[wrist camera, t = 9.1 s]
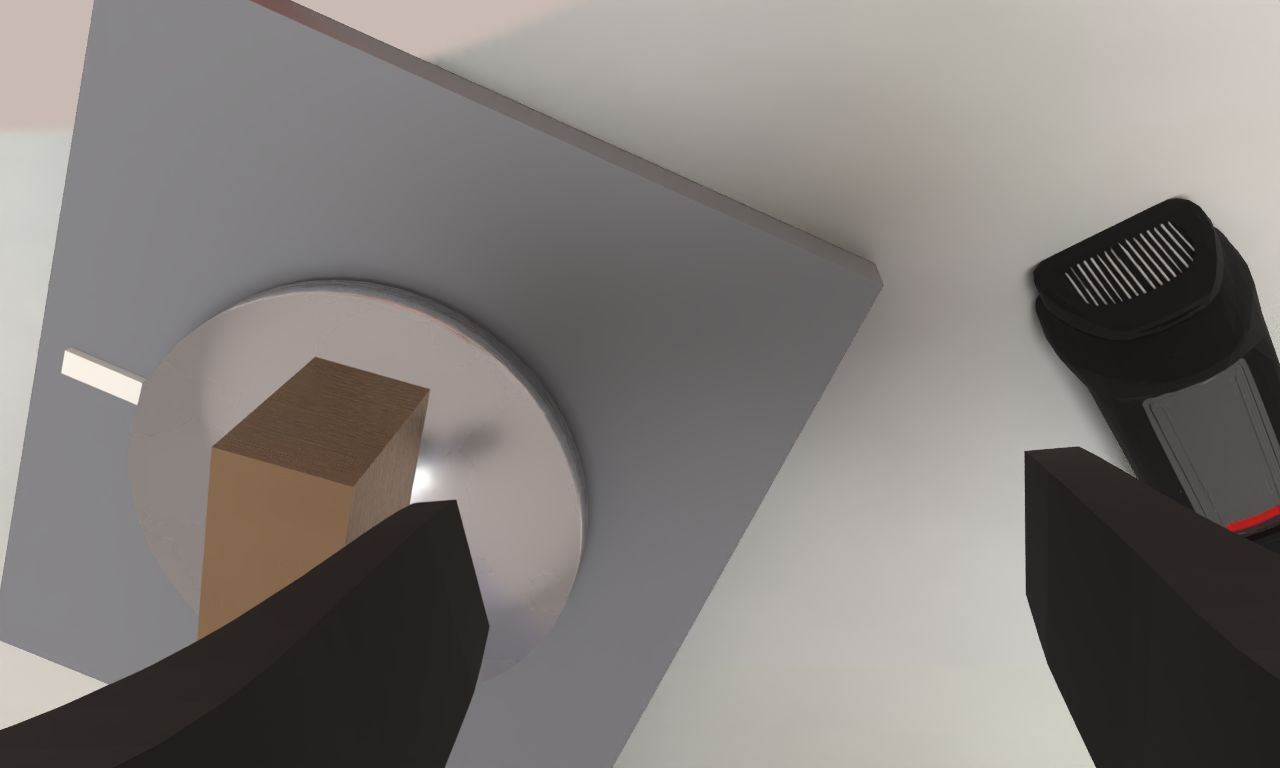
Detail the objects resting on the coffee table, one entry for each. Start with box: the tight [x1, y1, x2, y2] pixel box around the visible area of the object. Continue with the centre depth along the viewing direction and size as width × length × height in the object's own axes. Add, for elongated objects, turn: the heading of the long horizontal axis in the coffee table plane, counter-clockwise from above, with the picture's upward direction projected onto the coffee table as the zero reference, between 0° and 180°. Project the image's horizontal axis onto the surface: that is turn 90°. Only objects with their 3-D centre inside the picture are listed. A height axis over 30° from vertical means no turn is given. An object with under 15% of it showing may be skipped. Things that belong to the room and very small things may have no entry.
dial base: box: [0, 0, 883, 768], centre depth 23 cm, size 18×16×2 cm
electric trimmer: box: [1034, 199, 1280, 555], centre depth 21 cm, size 4×16×3 cm, turn 31°
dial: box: [128, 280, 588, 686], centre depth 19 cm, size 10×10×5 cm
